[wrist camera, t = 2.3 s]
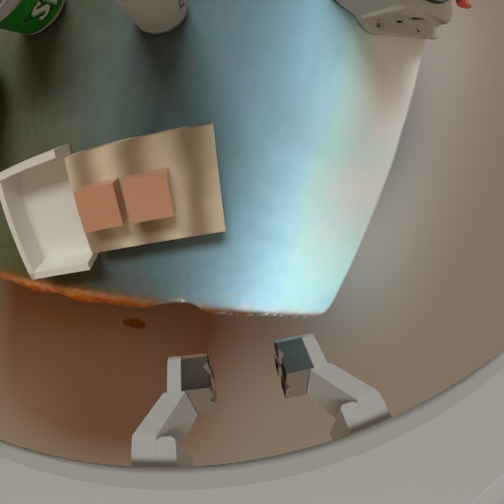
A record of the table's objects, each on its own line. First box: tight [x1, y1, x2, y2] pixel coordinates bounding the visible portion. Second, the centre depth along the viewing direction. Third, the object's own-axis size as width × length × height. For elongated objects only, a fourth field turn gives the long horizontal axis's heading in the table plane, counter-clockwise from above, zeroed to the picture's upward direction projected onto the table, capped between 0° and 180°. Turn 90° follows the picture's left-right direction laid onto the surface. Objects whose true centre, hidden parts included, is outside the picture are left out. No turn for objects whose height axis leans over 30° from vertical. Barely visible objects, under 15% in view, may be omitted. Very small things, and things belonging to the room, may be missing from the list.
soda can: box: [0, 0, 65, 35], centre depth 11 cm, size 8×8×12 cm
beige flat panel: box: [64, 123, 226, 254], centre depth 31 cm, size 18×13×3 cm
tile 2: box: [121, 167, 176, 224], centre depth 29 cm, size 5×5×2 cm
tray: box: [0, 143, 99, 279], centre depth 29 cm, size 11×16×4 cm
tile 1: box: [74, 177, 128, 233], centre depth 28 cm, size 5×5×2 cm
